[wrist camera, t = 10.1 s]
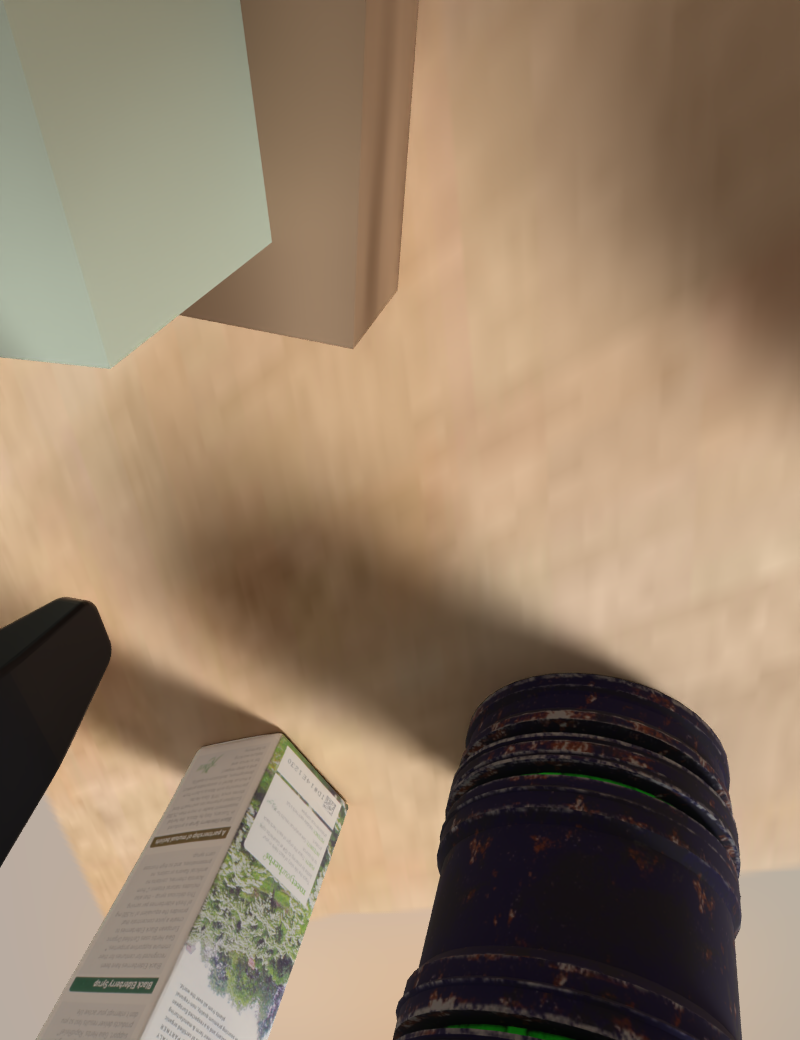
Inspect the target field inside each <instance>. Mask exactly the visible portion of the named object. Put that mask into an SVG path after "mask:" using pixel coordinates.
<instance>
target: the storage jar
mask: <svg viewBox="0 0 800 1040" xmlns="http://www.w3.org/2000/svg"><path fill="white" fill-rule="evenodd" d="M729 784H730V777H729V766H728V761H727V756H726V753H725V751H724V748H723V746H722V744H721V742H720V740H719V739H718V737H717V736H716V735H715V733H714V732H713V731H712V729H711V728H710V727H709V726H708V725H707V724H706V723H705V722H704V721H703V720H702V719H701V718H700V717H699V716H698V715H697V714H695V713H694V712H692V711H691V710H690V709H688V708H687V707H685V706H684V705H683V704H681V703H679V702H678V701H676V700H674V699H672V698H670V697H668V696H666V695H665V694H663V693H660V692H658V691H655V690H653V689H650V688H648V687H645V686H643V685H640V684H637V683H633V682H629V681H626V680H622V679H619V678H613V677H607V676H601V675H595V674H580V673H563V674H549V675H542V676H536V677H531V678H528V679H524V680H521V681H517V682H514V683H512V684H510V685H508V686H506V687H503V688H501V689H499V690H498V691H496V692H495V693H493V694H492V695H491V696H489V697H488V698H487V699H486V700H485V701H484V702H483V703H482V704H481V705H480V706H479V707H478V708H477V710H476V712H475V713H474V715H473V717H472V719H471V722H470V726H469V730H468V734H467V738H466V750H465V752H464V753H463V756H462V759H461V763H460V767H459V769H458V771H457V772H456V774H455V776H454V779H453V783H452V786H451V791H450V794H449V799H448V803H447V807H446V811H445V813H446V821H445V822H444V824H443V826H442V830H441V834H440V845H439V849H438V853H437V866H438V870H439V873H440V879H439V883H438V888H437V892H436V896H435V900H434V905H433V909H432V913H431V918H430V922H429V926H428V930H427V935H426V939H425V943H424V947H423V952H422V956H421V960H420V964H419V968H418V969H417V970H416V971H414V973H413V974H412V975H411V976H410V978H409V979H408V980H407V984H406V987H405V991H404V995H403V997H402V998H401V999H400V1001H399V1002H398V1005H397V1009H396V1016H397V1024H396V1028H395V1032H394V1036H393V1040H742V1034H741V1022H740V1021H741V1020H740V1007H739V993H738V981H737V967H736V953H735V938H736V936H737V934H738V932H739V930H740V925H741V906H740V897H741V896H740V892H739V881H738V878H739V873H740V857H739V856H740V853H739V843H738V833H737V828H736V823H735V820H734V818H733V813H732V806H731V800H730V795H729Z"/></svg>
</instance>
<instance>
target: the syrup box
mask: <svg viewBox="0 0 800 1040" xmlns="http://www.w3.org/2000/svg"><path fill="white" fill-rule="evenodd" d="M347 810H348V805H347V804H346V803H345V801H344V800H343V799H342V798H341V797H340V796H339V795H338V794H337V793H336V792H335V791H334V789H333V788H332V787H331V786H330V785H329V784H328V783H327V782H326V781H325V780H324V779H323V777H322V776H321V775H320V774H319V773H318V772H317V771H316V770H315V769H314V767H313V766H312V765H311V764H310V763H309V762H308V761H307V760H306V759H305V758H304V757H303V755H302V754H301V753H300V752H299V751H298V750H297V749H296V748H295V747H294V746H293V744H292V743H291V742H290V741H289V740H288V739H287V738H286V737H285V736H284V735H283V734H281V733H276V734H268V735H260V736H254V737H249V738H244V739H239V740H234V741H229V742H224V743H219V744H214V745H209V746H205V747H201V748H200V749H199V750H198V751H197V753H196V754H195V756H194V758H193V760H192V762H191V764H190V765H189V767H188V769H187V771H186V773H185V775H184V777H183V778H182V780H181V782H180V784H179V786H178V788H177V790H176V792H175V794H174V796H173V798H172V799H171V801H170V803H169V805H168V807H167V809H166V811H165V812H164V814H163V816H162V818H161V819H160V821H159V823H158V825H157V827H156V828H155V830H154V832H153V834H152V836H151V837H150V839H149V841H148V843H147V844H146V846H145V848H144V850H143V852H142V853H141V855H140V857H139V859H138V861H137V862H136V864H135V866H134V868H133V869H132V871H131V873H130V875H129V876H128V878H127V880H126V882H125V884H124V885H123V887H122V889H121V891H120V893H119V894H118V896H117V898H116V900H115V901H114V903H113V905H112V907H111V908H110V910H109V912H108V914H107V915H106V917H105V919H104V921H103V922H102V924H101V926H100V928H99V929H98V931H97V933H96V935H95V936H94V938H93V940H92V942H91V943H90V945H89V947H88V949H87V951H86V952H85V954H84V956H83V957H82V959H81V961H80V963H79V964H78V966H77V968H76V970H75V971H74V973H73V975H72V976H71V978H70V980H69V981H68V983H67V985H66V987H65V988H64V990H63V992H62V994H61V996H60V997H59V999H58V1001H57V1003H56V1004H55V1006H54V1008H53V1010H52V1012H51V1013H50V1015H49V1017H48V1019H47V1021H46V1022H45V1024H44V1025H43V1027H42V1029H41V1031H40V1033H39V1035H38V1036H37V1038H36V1040H267V1039H268V1037H269V1034H270V1031H271V1028H272V1025H273V1022H274V1019H275V1016H276V1013H277V1010H278V1007H279V1005H280V1002H281V999H282V996H283V993H284V990H285V987H286V984H287V982H288V978H289V975H290V972H291V970H292V967H293V965H294V962H295V959H296V956H297V953H298V951H299V948H300V945H301V942H302V940H303V937H304V933H305V930H306V927H307V925H308V922H309V919H310V916H311V913H312V910H313V907H314V904H315V902H316V899H317V896H318V893H319V890H320V888H321V885H322V881H323V879H324V876H325V873H326V871H327V867H328V864H329V862H330V859H331V856H332V853H333V850H334V847H335V844H336V841H337V838H338V836H339V833H340V830H341V828H342V825H343V822H344V818H345V816H346V813H347Z"/></svg>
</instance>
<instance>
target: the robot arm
mask: <svg viewBox="0 0 800 1040" xmlns="http://www.w3.org/2000/svg"><path fill="white" fill-rule="evenodd" d="M111 650H112V649H111V642H110V640H109V637H108V635H107V632H106V630H105V627H104V625H103V622H102V620H101V617H100V615H99V612H98V610H97V608H96V606H95V605H94V604H93V603H92V602H90V601H87V600H81V599H76V598H70V597H62V598H58V599H56V600H54V601H52V602H50V603H48V604H46V605H45V606H43V607H41V608H39V609H37V610H35V611H33V612H31V613H30V614H28V615H26V616H24V617H22V618H20V619H18V620H16V621H15V622H13V623H11V624H9V625H7V626H5V627H3V628H1V629H0V867H1V865H2V864H3V862H4V860H5V858H6V857H7V855H8V853H9V852H10V850H11V848H12V847H13V845H14V843H15V841H16V840H17V838H18V837H19V835H20V833H21V832H22V830H23V828H24V827H25V825H26V823H27V822H28V820H29V818H30V816H31V815H32V813H33V811H34V810H35V808H36V806H37V805H38V803H39V801H40V800H41V798H42V796H43V795H44V793H45V791H46V790H47V788H48V786H49V785H50V783H51V781H52V779H53V778H54V776H55V774H56V772H57V770H58V769H59V767H60V765H61V763H62V761H63V759H64V757H65V755H66V753H67V751H68V749H69V747H70V745H71V743H72V741H73V739H74V736H75V734H76V732H77V730H78V728H79V726H80V724H81V721H82V719H83V717H84V715H85V713H86V711H87V709H88V706H89V704H90V702H91V700H92V698H93V696H94V694H95V691H96V689H97V687H98V685H99V683H100V681H101V679H102V677H103V674H104V672H105V670H106V668H107V666H108V664H109V661H110V657H111Z"/></svg>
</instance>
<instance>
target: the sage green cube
mask: <svg viewBox="0 0 800 1040" xmlns="http://www.w3.org/2000/svg"><path fill="white" fill-rule="evenodd" d="M270 243H272V239H271V231H270V223H269V216H268V208H267V201H266V193H265V186H264V178H263V171H262V163H261V155H260V148H259V140H258V133H257V125H256V118H255V110H254V102H253V95H252V87H251V80H250V72H249V65H248V57H247V50H246V42H245V34H244V27H243V19H242V12H241V4H240V0H0V357H3V358H12V359H22V360H31V361H41V362H50V363H60V364H69V365H79V366H88V367H98V368H107V369H111V368H112V367H113V366H114V365H116V364H117V363H118V362H120V361H121V360H122V359H123V358H125V357H126V356H127V355H128V354H130V353H131V352H132V351H134V350H135V349H136V348H137V347H139V346H140V345H141V344H143V343H144V342H145V341H146V340H148V339H149V338H150V337H151V336H153V335H154V334H155V333H157V332H158V331H159V330H160V329H162V328H163V327H164V326H166V325H167V324H168V323H169V322H171V321H172V320H173V319H174V318H176V317H177V316H178V315H180V314H181V313H182V312H183V311H185V310H186V309H187V308H189V307H190V306H191V305H192V304H194V303H195V302H196V301H197V300H199V299H200V298H201V297H203V296H204V295H205V294H206V293H208V292H209V291H210V290H212V289H213V288H214V287H215V286H217V285H218V284H219V283H221V282H222V281H223V280H224V279H226V278H227V277H228V276H229V275H231V274H232V273H233V272H235V271H236V270H237V269H238V268H240V267H241V266H242V265H244V264H245V263H246V262H247V261H249V260H250V259H251V258H252V257H254V256H255V255H256V254H258V253H259V252H260V251H261V250H263V249H264V248H265V247H267V246H268V245H269V244H270Z"/></svg>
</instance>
